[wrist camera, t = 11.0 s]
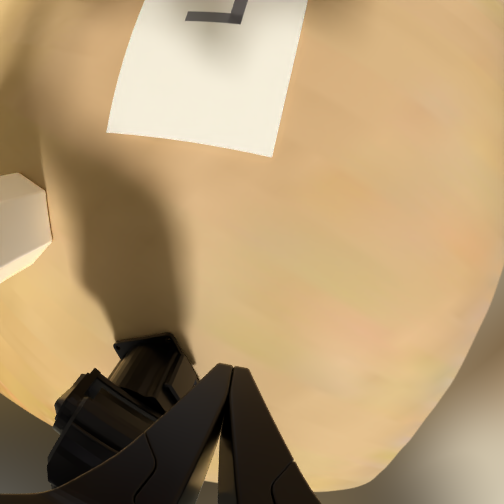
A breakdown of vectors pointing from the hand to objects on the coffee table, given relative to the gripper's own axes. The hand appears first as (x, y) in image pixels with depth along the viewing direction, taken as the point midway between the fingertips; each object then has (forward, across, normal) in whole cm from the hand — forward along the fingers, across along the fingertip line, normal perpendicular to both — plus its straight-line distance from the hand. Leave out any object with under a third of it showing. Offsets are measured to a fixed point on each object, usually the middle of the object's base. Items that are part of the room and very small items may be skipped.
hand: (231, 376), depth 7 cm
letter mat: (+13, +6, -17) cm, 22 cm away
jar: (+13, +22, +2) cm, 25 cm away
